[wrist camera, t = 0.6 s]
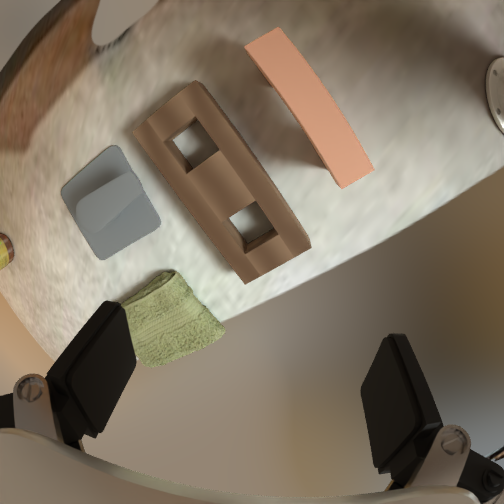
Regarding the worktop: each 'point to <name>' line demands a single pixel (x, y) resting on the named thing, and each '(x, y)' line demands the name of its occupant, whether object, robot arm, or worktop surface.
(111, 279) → the worktop surface
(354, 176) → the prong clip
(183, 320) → the washcloth
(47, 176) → the worktop surface
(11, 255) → the sauce bottle
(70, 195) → the shower valve
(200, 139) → the worktop surface
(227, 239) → the slotted rail
